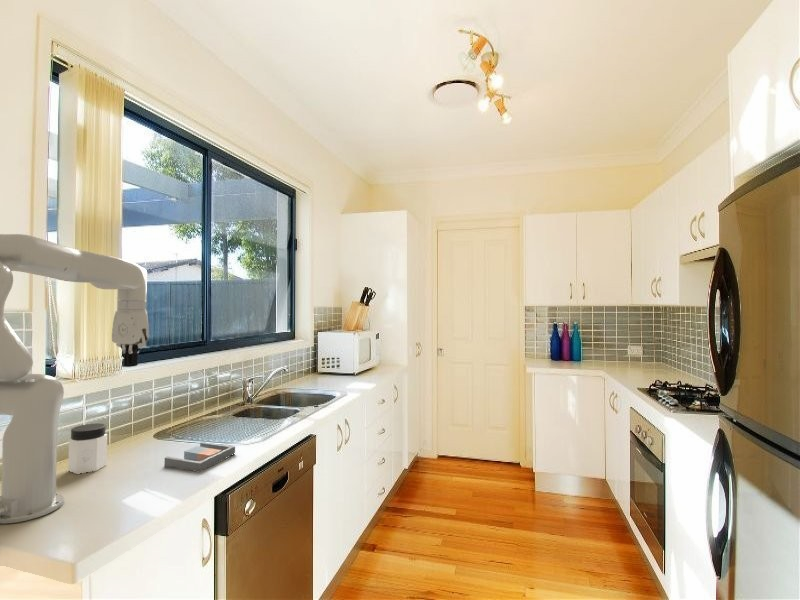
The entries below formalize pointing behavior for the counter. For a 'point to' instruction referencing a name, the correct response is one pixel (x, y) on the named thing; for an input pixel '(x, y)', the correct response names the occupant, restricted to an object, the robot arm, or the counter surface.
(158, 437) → the counter surface
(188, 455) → the tile
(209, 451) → the tile
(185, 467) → the tray
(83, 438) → the jar
